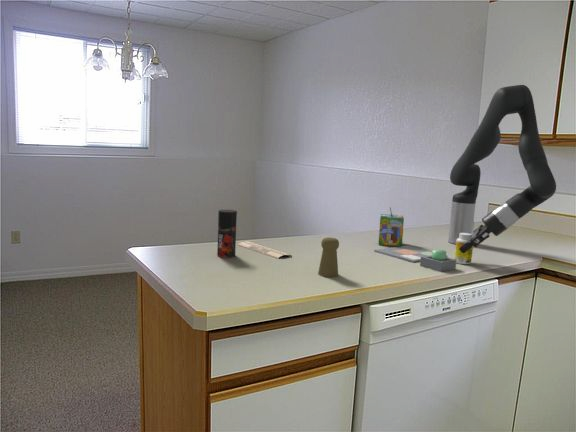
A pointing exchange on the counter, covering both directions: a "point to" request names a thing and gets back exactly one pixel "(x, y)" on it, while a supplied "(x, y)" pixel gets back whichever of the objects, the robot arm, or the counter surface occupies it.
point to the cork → (329, 258)
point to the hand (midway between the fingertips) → (460, 248)
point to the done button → (439, 255)
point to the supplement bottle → (459, 256)
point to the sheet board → (405, 253)
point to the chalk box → (391, 230)
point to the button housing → (438, 263)
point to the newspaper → (263, 249)
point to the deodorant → (226, 233)
